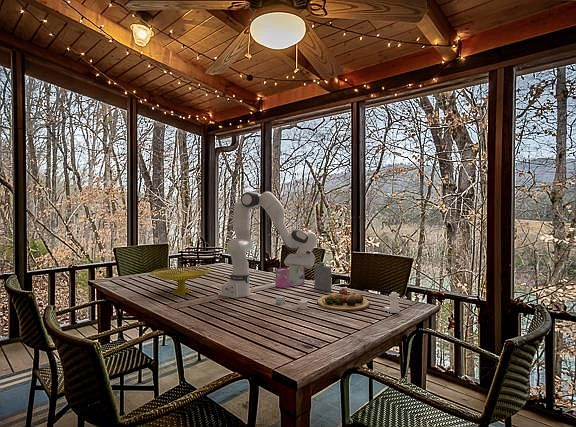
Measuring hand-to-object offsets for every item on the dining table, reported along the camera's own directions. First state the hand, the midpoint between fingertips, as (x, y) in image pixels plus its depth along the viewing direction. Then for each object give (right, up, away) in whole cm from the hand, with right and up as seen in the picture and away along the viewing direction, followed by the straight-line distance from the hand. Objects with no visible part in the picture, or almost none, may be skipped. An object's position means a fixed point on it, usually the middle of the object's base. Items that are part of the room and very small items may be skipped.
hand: (293, 271), depth 218 cm
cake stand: (-78, -19, +30) cm, 86 cm away
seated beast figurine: (+58, -21, -14) cm, 63 cm away
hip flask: (+22, -20, +41) cm, 51 cm away
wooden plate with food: (+31, -21, +3) cm, 37 cm away
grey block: (-8, -20, +4) cm, 22 cm away
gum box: (-2, -20, +55) cm, 59 cm away
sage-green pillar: (0, -5, +1) cm, 5 cm away
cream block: (+5, -21, -7) cm, 22 cm away
